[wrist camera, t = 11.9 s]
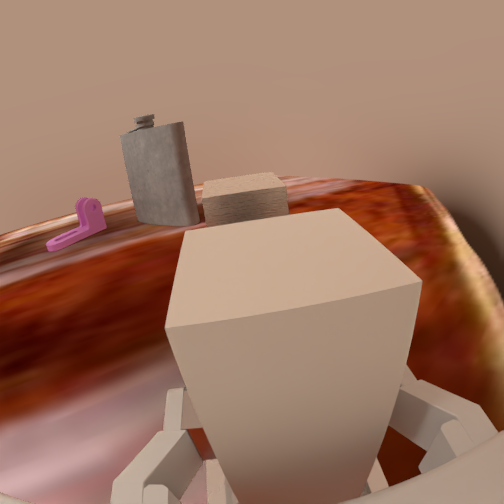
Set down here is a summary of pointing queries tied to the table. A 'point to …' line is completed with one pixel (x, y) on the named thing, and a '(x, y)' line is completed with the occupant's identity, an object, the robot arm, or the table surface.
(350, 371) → the loose rectangular block
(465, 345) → the table surface
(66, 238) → the bracket
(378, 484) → the pillar on stepped tray
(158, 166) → the hip flask
